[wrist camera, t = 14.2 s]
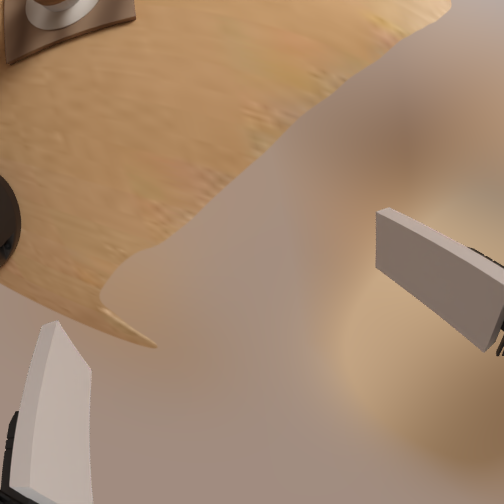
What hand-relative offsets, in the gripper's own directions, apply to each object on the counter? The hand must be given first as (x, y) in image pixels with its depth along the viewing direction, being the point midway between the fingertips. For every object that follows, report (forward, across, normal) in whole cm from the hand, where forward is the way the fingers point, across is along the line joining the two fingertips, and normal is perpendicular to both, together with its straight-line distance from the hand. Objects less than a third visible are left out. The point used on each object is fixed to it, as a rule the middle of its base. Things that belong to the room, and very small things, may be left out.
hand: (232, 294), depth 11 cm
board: (+32, -8, +28) cm, 43 cm away
